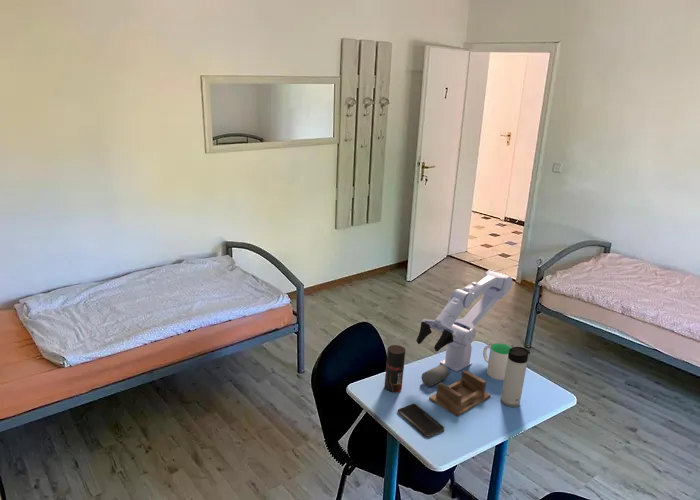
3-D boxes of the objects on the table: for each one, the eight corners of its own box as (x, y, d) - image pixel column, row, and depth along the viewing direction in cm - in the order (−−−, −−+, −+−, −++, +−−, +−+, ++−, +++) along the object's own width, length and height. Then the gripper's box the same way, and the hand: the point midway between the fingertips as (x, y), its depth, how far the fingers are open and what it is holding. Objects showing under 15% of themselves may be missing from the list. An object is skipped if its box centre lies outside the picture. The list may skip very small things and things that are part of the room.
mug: (474, 366, 207) (477, 342, 203) (488, 361, 211) (492, 336, 208) (499, 382, 198) (503, 356, 194) (513, 376, 202) (518, 350, 199)
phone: (426, 436, 166) (396, 409, 178) (426, 439, 166) (395, 412, 178) (446, 428, 170) (415, 402, 182) (445, 431, 170) (414, 405, 182)
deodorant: (395, 394, 187) (399, 355, 182) (381, 388, 190) (384, 349, 185) (404, 387, 191) (408, 349, 186) (390, 381, 195) (393, 343, 190)
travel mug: (521, 409, 183) (531, 355, 176) (501, 405, 184) (509, 352, 178) (519, 398, 189) (529, 346, 182) (500, 395, 190) (508, 343, 183)
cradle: (462, 381, 197) (464, 366, 195) (490, 396, 189) (492, 381, 187) (429, 399, 186) (430, 383, 184) (457, 416, 177) (459, 400, 175)
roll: (437, 374, 201) (438, 362, 199) (448, 380, 197) (449, 368, 196) (420, 382, 195) (422, 370, 193) (431, 389, 192) (433, 376, 190)
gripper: (428, 303, 197) (406, 332, 192) (462, 315, 187) (440, 346, 182) (434, 316, 201) (413, 344, 196) (467, 328, 191) (446, 358, 186)
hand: (426, 346), depth 189 cm, fingers open, 7 cm apart
